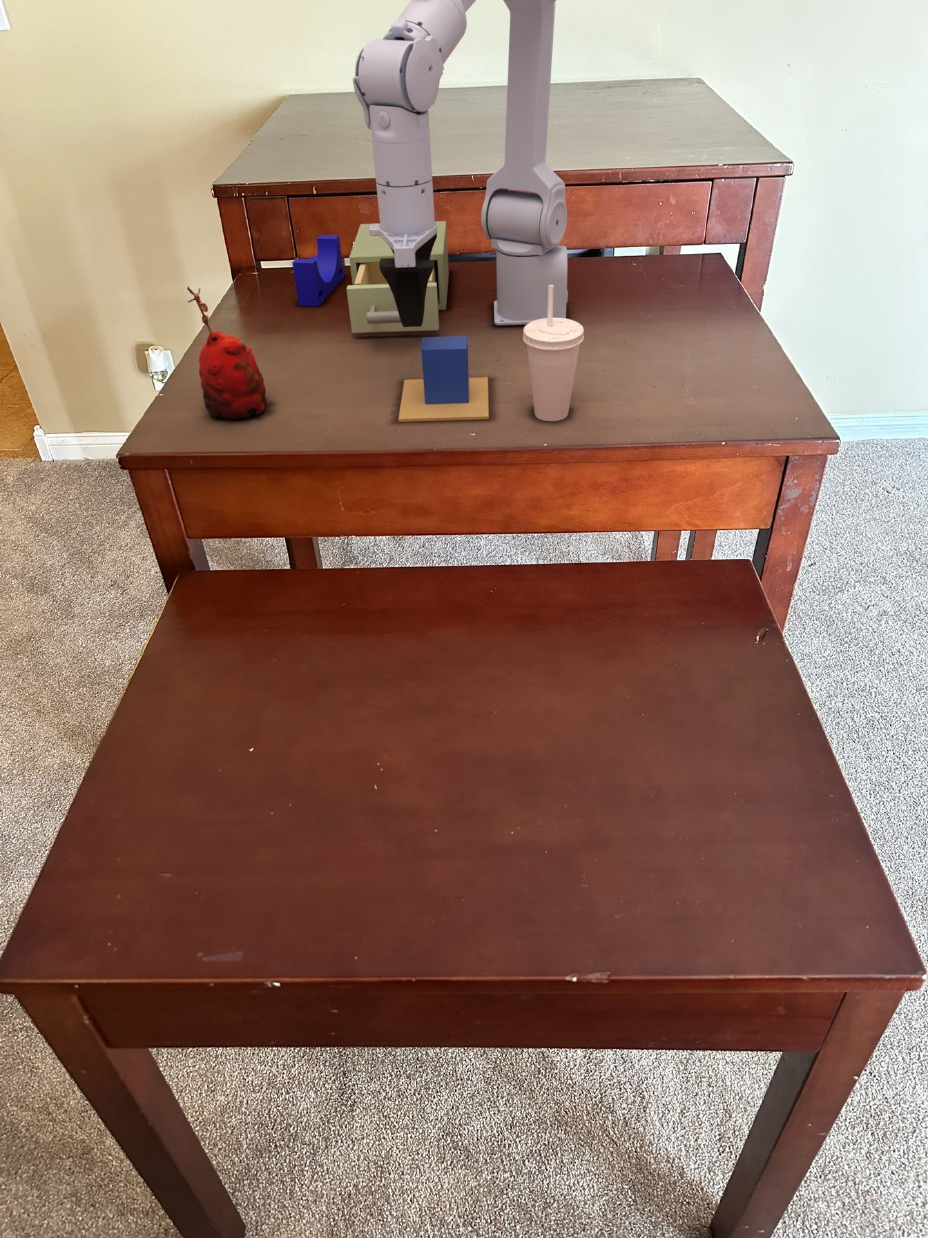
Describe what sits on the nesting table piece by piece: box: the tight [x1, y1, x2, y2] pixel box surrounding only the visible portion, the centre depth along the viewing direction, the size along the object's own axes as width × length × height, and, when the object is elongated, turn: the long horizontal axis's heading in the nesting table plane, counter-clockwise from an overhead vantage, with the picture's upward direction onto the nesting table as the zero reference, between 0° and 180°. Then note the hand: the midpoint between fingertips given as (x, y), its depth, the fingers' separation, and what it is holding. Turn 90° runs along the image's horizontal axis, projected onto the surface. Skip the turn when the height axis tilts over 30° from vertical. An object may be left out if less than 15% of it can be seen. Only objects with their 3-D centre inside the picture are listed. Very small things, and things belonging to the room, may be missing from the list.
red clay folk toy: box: [186, 286, 267, 420], centre depth 98 cm, size 8×7×15 cm
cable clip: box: [291, 234, 345, 307], centre depth 130 cm, size 12×4×6 cm, turn 169°
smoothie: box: [522, 285, 585, 422], centre depth 95 cm, size 6×6×14 cm
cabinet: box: [348, 220, 450, 311], centre depth 128 cm, size 15×13×8 cm
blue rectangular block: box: [420, 335, 470, 404], centre depth 101 cm, size 5×3×6 cm
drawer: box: [346, 262, 440, 334], centre depth 119 cm, size 18×11×6 cm, turn 179°
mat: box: [398, 376, 490, 423], centre depth 103 cm, size 10×10×1 cm
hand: (414, 311), depth 99 cm, fingers open, 7 cm apart
